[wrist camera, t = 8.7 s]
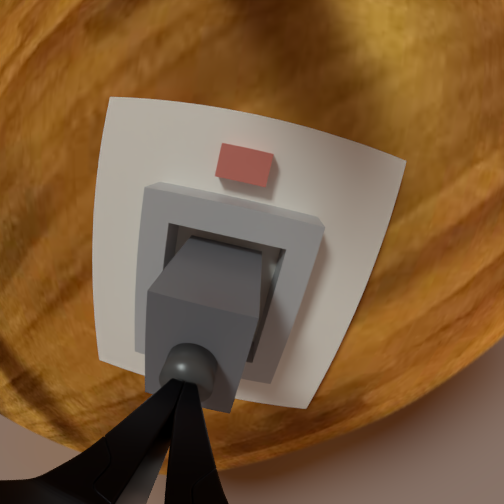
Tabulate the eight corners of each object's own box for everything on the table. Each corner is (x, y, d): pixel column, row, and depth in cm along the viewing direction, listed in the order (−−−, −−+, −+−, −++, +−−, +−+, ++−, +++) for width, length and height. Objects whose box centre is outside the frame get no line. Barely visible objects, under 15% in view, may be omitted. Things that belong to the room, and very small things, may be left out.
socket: (304, 397, 20) (308, 429, 17) (105, 350, 20) (88, 376, 17) (397, 159, 14) (424, 163, 11) (120, 99, 14) (90, 92, 11)
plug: (241, 326, 17) (226, 435, 9) (182, 311, 17) (136, 412, 9) (262, 247, 15) (257, 341, 8) (194, 231, 15) (132, 309, 8)
